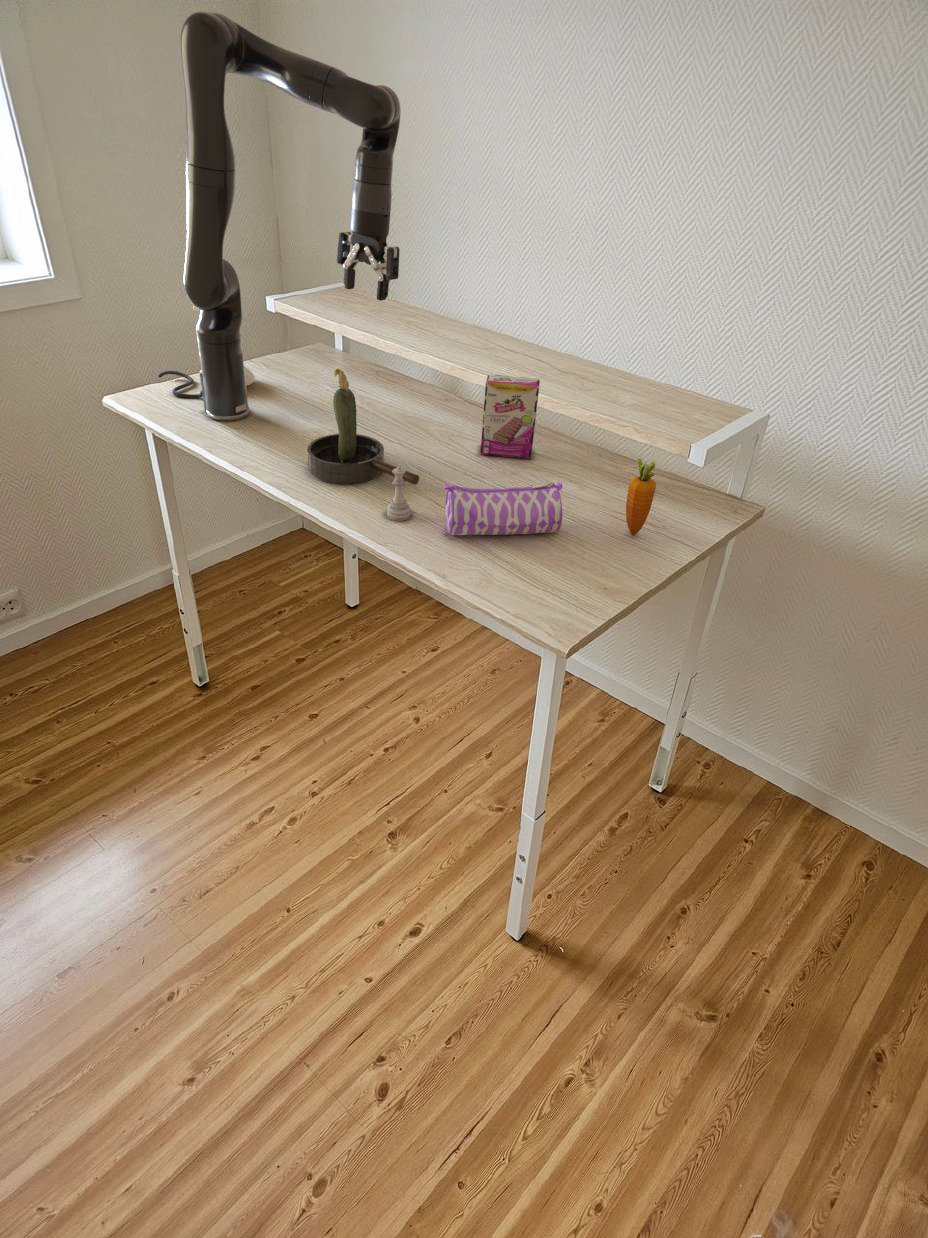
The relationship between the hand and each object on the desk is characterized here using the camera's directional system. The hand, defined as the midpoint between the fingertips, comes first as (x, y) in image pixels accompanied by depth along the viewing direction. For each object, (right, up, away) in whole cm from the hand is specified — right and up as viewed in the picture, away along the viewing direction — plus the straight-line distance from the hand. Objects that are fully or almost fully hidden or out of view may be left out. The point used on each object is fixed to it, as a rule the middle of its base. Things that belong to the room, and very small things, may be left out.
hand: (365, 294), depth 169 cm
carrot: (+51, -51, -16) cm, 74 cm away
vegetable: (-4, -35, +1) cm, 35 cm away
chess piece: (+8, -47, -14) cm, 50 cm away
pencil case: (+27, -50, -17) cm, 60 cm away
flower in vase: (-38, -9, +36) cm, 53 cm away
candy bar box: (+29, -30, +11) cm, 44 cm away
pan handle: (+7, -38, -7) cm, 39 cm away
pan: (-4, -35, +1) cm, 36 cm away
